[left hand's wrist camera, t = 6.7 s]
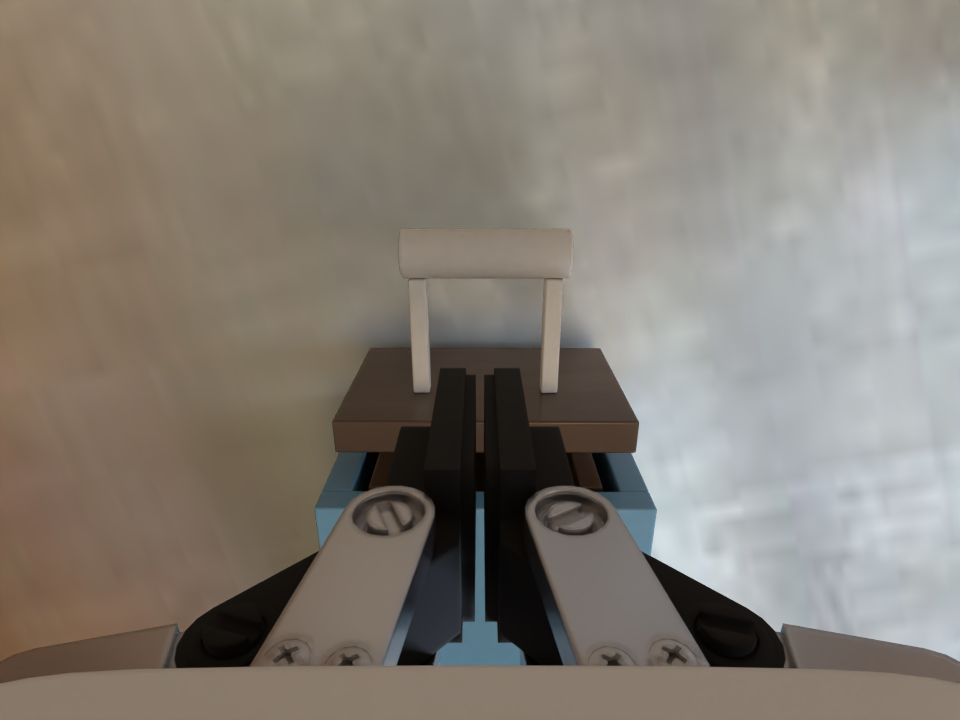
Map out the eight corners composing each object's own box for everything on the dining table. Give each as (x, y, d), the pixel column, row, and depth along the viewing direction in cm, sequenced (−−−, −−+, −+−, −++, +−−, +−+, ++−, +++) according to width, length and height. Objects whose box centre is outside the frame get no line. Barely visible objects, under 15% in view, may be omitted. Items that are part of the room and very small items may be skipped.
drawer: (359, 211, 23) (311, 243, 17) (611, 210, 23) (660, 242, 17) (395, 679, 33) (374, 812, 26) (573, 680, 33) (594, 813, 26)
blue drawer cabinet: (365, 393, 27) (313, 508, 19) (604, 393, 27) (657, 509, 19) (391, 712, 35) (363, 890, 27) (576, 713, 35) (604, 892, 27)
